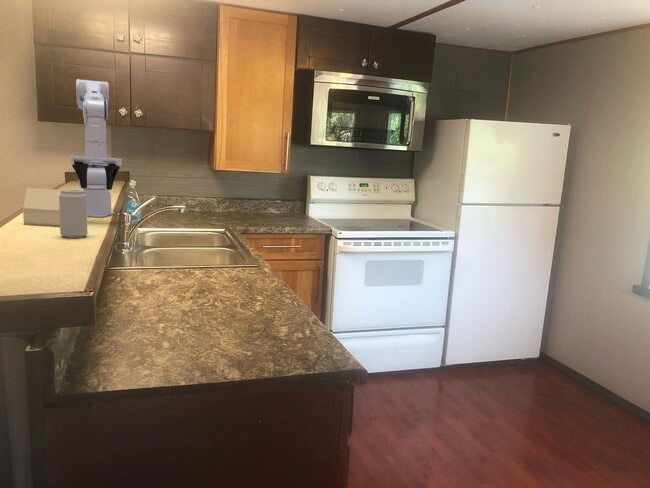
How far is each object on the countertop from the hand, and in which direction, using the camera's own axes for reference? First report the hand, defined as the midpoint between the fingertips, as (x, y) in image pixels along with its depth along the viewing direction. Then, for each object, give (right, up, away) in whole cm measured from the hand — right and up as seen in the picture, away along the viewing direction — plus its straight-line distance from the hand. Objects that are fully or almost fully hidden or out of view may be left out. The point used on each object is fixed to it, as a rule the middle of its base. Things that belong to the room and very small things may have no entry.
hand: (96, 188), depth 161 cm
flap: (-12, -4, -7) cm, 14 cm away
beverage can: (+3, -15, -20) cm, 25 cm away
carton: (-12, -11, -4) cm, 17 cm away
